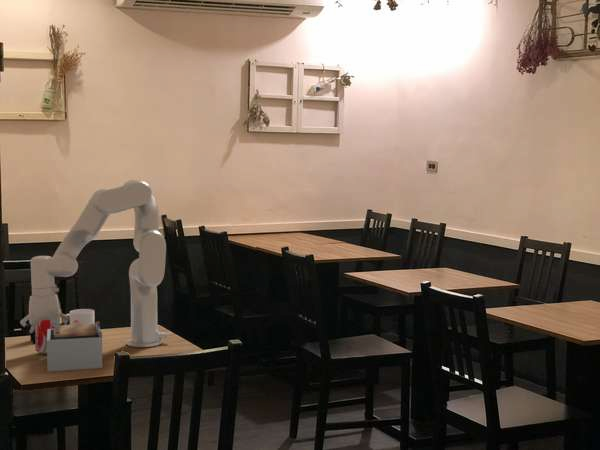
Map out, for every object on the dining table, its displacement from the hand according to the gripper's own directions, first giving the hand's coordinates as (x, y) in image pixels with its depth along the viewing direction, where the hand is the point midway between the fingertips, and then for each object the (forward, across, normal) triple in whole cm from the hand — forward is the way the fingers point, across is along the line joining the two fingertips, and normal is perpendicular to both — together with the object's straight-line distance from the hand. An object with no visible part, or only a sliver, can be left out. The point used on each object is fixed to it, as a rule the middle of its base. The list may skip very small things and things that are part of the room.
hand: (45, 342), depth 275 cm
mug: (+5, -11, -18) cm, 22 cm away
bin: (+4, -9, +16) cm, 19 cm away
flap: (-6, -10, +16) cm, 19 cm away
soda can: (+4, 0, 0) cm, 4 cm away
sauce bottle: (+4, -2, -26) cm, 26 cm away
